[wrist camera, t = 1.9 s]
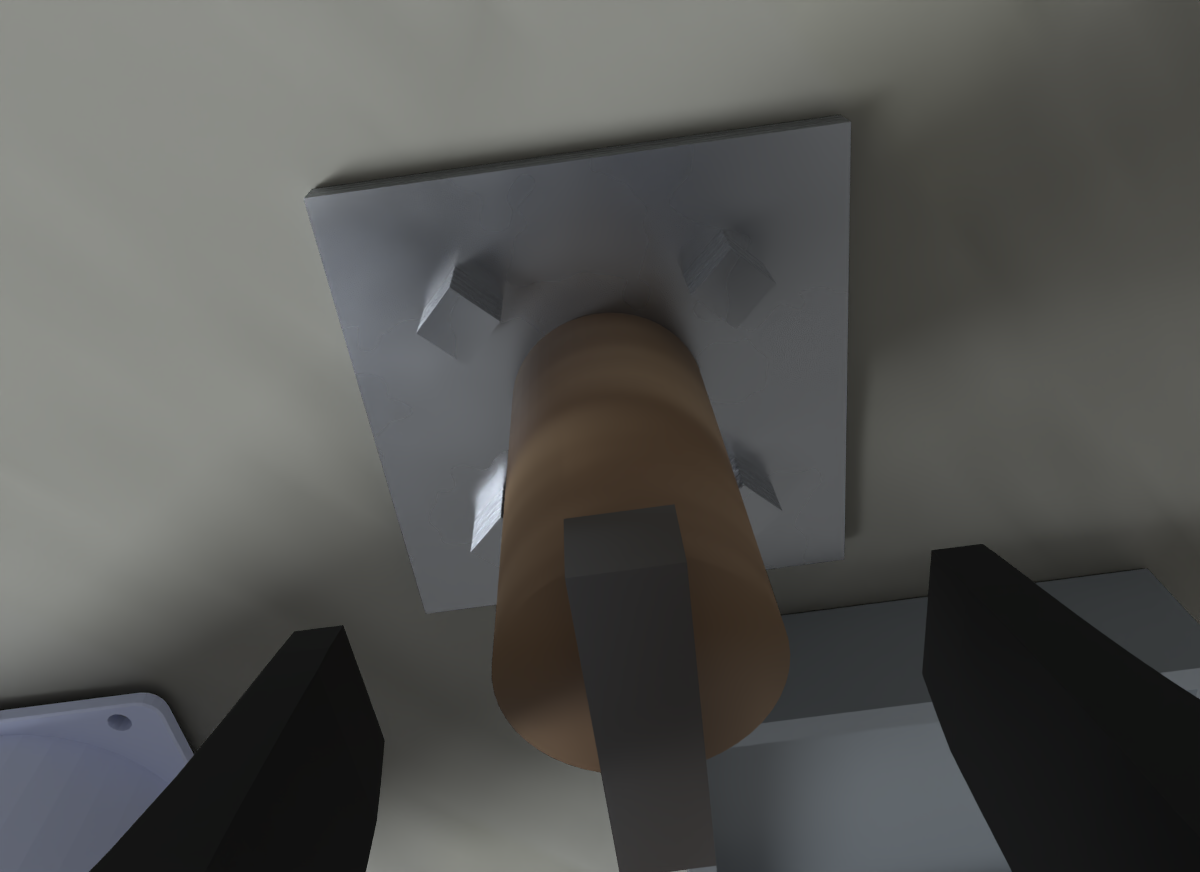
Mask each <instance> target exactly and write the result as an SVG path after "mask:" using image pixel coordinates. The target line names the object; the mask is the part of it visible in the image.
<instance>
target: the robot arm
mask: <svg viewBox="0 0 1200 872" xmlns="http://www.w3.org/2000/svg"><path fill="white" fill-rule="evenodd" d="M922 675H923V678H924V681H925V683H926V686H927V689H928V692H929V695H930V697H931V700H932V703H933V706H934V709H935V712H936V714H937V717H938V720H939V722H940V725H941V728H942V730H943V733H944V735H945V738H946V741H947V743H948V746H949V749H950V751H951V753H952V755H953V757H954V759H955V761H956V763H957V765H958V767H959V769H960V771H961V773H962V775H963V777H964V779H965V781H966V783H967V785H968V787H969V789H970V791H971V793H972V795H973V797H974V799H975V801H976V803H977V805H978V807H979V809H980V811H981V813H982V815H983V817H984V818H985V820H986V822H987V824H988V826H989V828H990V830H991V832H992V834H993V836H994V838H995V840H996V842H997V844H998V846H999V848H1000V849H1001V851H1002V853H1003V855H1004V857H1005V859H1006V861H1007V863H1008V865H1009V867H1010V869H1011V871H1012V872H1200V699H1199V698H1197V697H1196V696H1194V695H1193V694H1191V693H1189V692H1188V691H1186V690H1185V689H1183V688H1182V687H1180V686H1179V685H1177V684H1175V683H1174V682H1172V681H1171V680H1170V679H1168V678H1167V677H1165V676H1164V675H1162V674H1161V673H1159V672H1158V671H1156V670H1155V669H1153V668H1152V667H1150V666H1149V665H1147V664H1146V663H1144V662H1143V661H1141V660H1140V659H1139V658H1137V657H1136V656H1134V655H1133V654H1131V653H1130V652H1128V651H1127V650H1126V649H1124V648H1123V647H1121V646H1120V645H1119V644H1117V643H1116V642H1114V641H1113V640H1112V639H1110V638H1109V637H1107V636H1106V635H1105V634H1103V633H1102V632H1100V631H1099V630H1098V629H1096V628H1095V627H1093V626H1092V625H1091V624H1089V623H1088V622H1087V621H1085V620H1084V619H1082V618H1081V617H1080V616H1078V615H1077V614H1076V613H1074V612H1073V611H1072V610H1070V609H1069V608H1068V607H1066V606H1065V605H1064V604H1062V603H1061V602H1060V601H1058V600H1057V599H1056V598H1054V597H1053V596H1051V595H1050V594H1049V593H1047V592H1046V591H1045V590H1043V589H1042V588H1041V587H1039V586H1038V585H1037V584H1036V583H1034V582H1033V581H1032V580H1030V579H1029V578H1028V577H1026V576H1025V575H1024V574H1022V573H1021V572H1020V571H1018V570H1017V569H1016V568H1014V567H1013V566H1012V565H1010V564H1009V563H1008V562H1006V561H1005V560H1004V559H1002V558H1001V557H1000V556H998V555H997V554H996V553H994V552H993V551H992V550H990V549H989V548H987V547H986V546H985V545H983V544H979V545H971V546H963V547H955V548H947V549H939V550H932V553H931V566H930V578H929V591H928V604H927V617H926V630H925V642H924V655H923V668H922ZM121 715H123V716H121ZM124 716H126V717H124ZM383 752H384V738H383V735H382V732H381V729H380V726H379V724H378V721H377V718H376V715H375V712H374V710H373V707H372V704H371V701H370V699H369V696H368V693H367V690H366V687H365V685H364V682H363V679H362V676H361V674H360V671H359V668H358V665H357V662H356V660H355V657H354V654H353V651H352V649H351V646H350V643H349V640H348V637H347V635H346V632H345V629H344V626H343V625H342V626H334V627H326V628H318V629H311V630H303V631H295V632H294V633H293V634H292V635H291V636H290V638H289V639H288V640H287V641H286V642H285V644H284V645H283V646H282V647H281V648H280V650H279V651H278V652H277V653H276V655H275V656H274V657H273V658H272V660H271V661H270V662H269V663H268V664H267V666H266V667H265V668H264V669H263V671H262V672H261V673H260V674H259V676H258V677H257V678H256V679H255V681H254V682H253V683H252V684H251V686H250V687H249V688H248V689H247V691H246V692H245V693H244V694H243V696H242V697H241V698H240V699H239V701H238V702H237V703H236V704H235V706H234V707H233V708H232V709H231V711H230V712H229V713H228V714H227V716H226V717H225V718H224V719H223V721H222V722H221V723H220V724H219V726H218V727H217V728H216V729H215V730H214V732H213V733H212V734H211V735H210V736H209V738H208V739H207V740H206V741H205V742H204V744H203V745H202V746H201V747H200V748H199V750H198V751H197V752H196V753H195V754H193V752H192V750H191V748H190V746H189V744H188V742H187V740H186V738H185V736H184V735H183V733H182V731H181V729H180V727H179V725H178V723H177V721H176V719H175V717H174V715H173V713H172V711H171V710H170V708H169V706H168V704H167V703H166V702H165V701H164V700H163V699H162V698H160V697H159V696H157V695H155V694H151V693H133V694H125V695H117V696H109V697H101V698H94V699H86V700H78V701H70V702H63V703H55V704H47V705H39V706H32V707H24V708H16V709H8V710H1V711H0V872H366V868H367V863H368V859H369V854H370V850H371V845H372V840H373V836H374V831H375V826H376V821H377V813H378V804H379V795H380V786H381V775H382V763H383Z"/></svg>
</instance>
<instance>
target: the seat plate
mask: <svg viewBox="0 0 1200 872" xmlns="http://www.w3.org/2000/svg"><path fill="white" fill-rule="evenodd" d="M850 155H851V121H849V120H848V119H846V118H845V117H843V116H842V115H835V116H828V117H821V118H814V119H807V120H800V121H793V122H785V123H778V124H771V125H764V126H757V127H750V128H743V129H736V130H728V131H721V132H714V133H707V134H700V135H693V136H686V137H678V138H671V139H664V140H657V141H650V142H643V143H636V144H629V145H621V146H614V147H607V148H600V149H593V150H586V151H579V152H572V153H564V154H557V155H550V156H543V157H536V158H529V159H522V160H514V161H507V162H500V163H493V164H486V165H479V166H472V167H465V168H457V169H450V170H443V171H436V172H429V173H422V174H415V175H407V176H400V177H393V178H386V179H379V180H372V181H365V182H358V183H350V184H343V185H336V186H329V187H322V188H315V189H311V191H310V192H309V193H308V194H307V195H306V196H305V197H304V202H305V205H306V208H307V212H308V215H309V219H310V222H311V225H312V229H313V232H314V236H315V239H316V242H317V246H318V249H319V253H320V256H321V259H322V263H323V266H324V270H325V273H326V276H327V280H328V283H329V287H330V290H331V293H332V297H333V300H334V304H335V307H336V310H337V314H338V317H339V321H340V324H341V327H342V331H343V334H344V338H345V341H346V344H347V348H348V351H349V355H350V358H351V361H352V365H353V368H354V372H355V375H356V378H357V382H358V385H359V389H360V392H361V395H362V399H363V402H364V406H365V409H366V412H367V416H368V419H369V423H370V426H371V429H372V433H373V436H374V440H375V443H376V446H377V450H378V453H379V457H380V460H381V463H382V467H383V470H384V474H385V477H386V480H387V484H388V487H389V491H390V494H391V497H392V501H393V504H394V508H395V511H396V514H397V518H398V521H399V525H400V528H401V531H402V535H403V538H404V542H405V545H406V548H407V552H408V555H409V559H410V562H411V565H412V569H413V572H414V576H415V579H416V582H417V586H418V589H419V593H420V596H421V599H422V603H423V606H424V610H425V613H426V614H428V613H436V612H443V611H451V610H459V609H466V608H474V607H482V606H490V605H497V592H498V579H499V566H500V553H501V540H502V527H503V515H504V502H505V489H506V476H507V463H508V450H509V437H510V424H511V411H512V398H513V389H514V384H515V380H516V377H517V374H518V371H519V369H520V367H521V365H522V363H523V361H524V359H525V357H526V356H527V355H528V353H529V352H530V350H531V349H532V348H533V347H534V346H535V345H536V344H537V343H538V341H539V340H541V339H542V338H543V337H544V336H545V335H547V334H548V333H549V332H551V331H552V330H554V329H555V328H557V327H558V326H560V325H562V324H564V323H567V322H569V321H571V320H574V319H577V318H580V317H583V316H587V315H592V314H599V313H624V314H630V315H636V316H639V317H642V318H645V319H648V320H651V321H653V322H655V323H657V324H659V325H661V326H663V327H664V328H666V329H667V330H669V331H671V332H672V333H673V334H674V335H675V336H677V337H678V338H679V339H680V340H681V341H682V342H683V343H684V345H685V346H686V347H687V348H688V349H689V351H690V352H691V354H692V355H693V357H694V359H695V361H696V363H697V365H698V367H699V370H700V373H701V376H702V379H703V382H704V385H705V388H706V391H707V394H708V397H709V400H710V403H711V406H712V409H713V412H714V415H715V418H716V421H717V424H718V427H719V430H720V433H721V436H722V439H723V442H724V445H725V448H726V451H727V454H728V457H729V460H730V463H731V466H732V469H733V472H734V475H735V478H736V481H737V484H738V487H739V491H740V494H741V497H742V500H743V503H744V506H745V509H746V512H747V515H748V518H749V521H750V524H751V527H752V530H753V533H754V536H755V539H756V542H757V545H758V548H759V551H760V554H761V557H762V560H763V563H764V566H765V569H766V570H767V569H775V568H782V567H790V566H798V565H805V564H813V563H821V562H828V561H836V560H844V547H845V482H846V416H847V351H848V285H849V220H850Z"/></svg>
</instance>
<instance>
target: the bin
mask: <svg viewBox="0 0 1200 872" xmlns="http://www.w3.org/2000/svg"><path fill="white" fill-rule="evenodd" d="M1036 584H1037V585H1038V586H1039V587H1041V588H1042V589H1043V590H1045V591H1046V592H1047V593H1049V594H1050V595H1051V596H1053V597H1054V598H1056V599H1057V600H1058V601H1060V602H1061V603H1062V604H1064V605H1065V606H1066V607H1068V608H1069V609H1070V610H1072V611H1073V612H1074V613H1076V614H1077V615H1078V616H1080V617H1081V618H1082V619H1084V620H1085V621H1087V622H1088V623H1089V624H1091V625H1092V626H1093V627H1095V628H1096V629H1098V630H1099V631H1100V632H1102V633H1103V634H1105V635H1106V636H1107V637H1109V638H1110V639H1112V640H1113V641H1114V642H1116V643H1117V644H1119V645H1120V646H1121V647H1123V648H1124V649H1126V650H1127V651H1128V652H1130V653H1131V654H1133V655H1134V656H1136V657H1137V658H1139V659H1140V660H1141V661H1143V662H1144V663H1146V664H1147V665H1149V666H1150V667H1152V668H1153V669H1155V670H1156V671H1158V672H1159V673H1161V674H1162V675H1164V676H1165V677H1167V678H1168V679H1170V680H1171V681H1172V682H1174V683H1175V684H1177V685H1179V686H1180V687H1182V688H1183V689H1185V690H1186V691H1188V692H1189V693H1191V694H1193V695H1194V696H1196V697H1197V698H1199V699H1200V625H1199V624H1198V623H1197V622H1196V621H1195V620H1194V618H1193V617H1192V616H1191V615H1190V614H1189V613H1188V612H1187V611H1186V610H1185V609H1184V608H1183V606H1182V605H1181V604H1180V603H1179V602H1178V601H1177V600H1176V599H1175V598H1174V597H1173V596H1172V594H1171V593H1170V592H1169V591H1168V590H1167V589H1166V588H1165V587H1164V586H1163V585H1162V584H1161V583H1160V581H1159V580H1158V579H1157V578H1156V577H1155V576H1154V575H1153V574H1152V573H1151V572H1150V571H1149V569H1148V568H1147V569H1139V570H1132V571H1124V572H1116V573H1108V574H1101V575H1093V576H1085V577H1077V578H1069V579H1062V580H1054V581H1046V582H1038V583H1036ZM927 604H928V597H922V598H914V599H906V600H899V601H891V602H883V603H875V604H868V605H860V606H852V607H844V608H836V609H829V610H821V611H813V612H805V613H798V614H790V615H782V616H781V617H782V620H783V623H784V626H785V630H786V633H787V636H788V640H789V647H790V668H789V673H788V677H787V681H786V684H785V687H784V689H783V691H782V694H781V696H780V698H779V700H778V701H777V703H776V705H775V706H774V708H773V710H772V711H771V712H770V713H769V715H768V716H767V717H766V718H765V720H764V721H763V722H762V723H761V724H760V725H759V726H758V727H757V728H756V729H755V730H754V731H753V732H752V733H750V734H749V735H748V736H746V737H745V738H744V739H743V740H741V741H740V742H739V743H737V744H735V745H734V746H732V747H731V748H729V749H727V750H726V751H724V752H722V753H720V754H718V755H716V756H714V757H712V758H709V759H707V760H706V764H707V775H708V785H709V795H710V805H711V816H712V826H713V836H714V847H715V857H716V866H710V867H702V868H694V869H687V871H688V872H1012V871H1011V869H1010V867H1009V865H1008V863H1007V861H1006V859H1005V857H1004V855H1003V853H1002V851H1001V849H1000V848H999V846H998V844H997V842H996V840H995V838H994V836H993V834H992V832H991V830H990V828H989V826H988V824H987V822H986V820H985V818H984V817H983V815H982V813H981V811H980V809H979V807H978V805H977V803H976V801H975V799H974V797H973V795H972V793H971V791H970V789H969V787H968V785H967V783H966V781H965V779H964V777H963V775H962V773H961V771H960V769H959V767H958V765H957V763H956V761H955V759H954V757H953V755H952V753H951V751H950V749H949V746H948V743H947V741H946V738H945V735H944V733H943V730H942V728H941V725H940V722H939V720H938V717H937V714H936V712H935V709H934V706H933V703H932V700H931V697H930V695H929V692H928V689H927V686H926V683H925V681H924V678H923V675H922V668H923V655H924V642H925V630H926V617H927Z"/></svg>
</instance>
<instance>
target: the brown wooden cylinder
mask: <svg viewBox="0 0 1200 872" xmlns="http://www.w3.org/2000/svg"><path fill="white" fill-rule="evenodd" d="M789 668H790V647H789V640H788V636H787V633H786V630H785V626H784V623H783V620H782V617H781V614H780V611H779V608H778V605H777V602H776V599H775V596H774V593H773V590H772V587H771V584H770V581H769V578H768V575H767V572H766V569H765V566H764V563H763V560H762V557H761V554H760V551H759V548H758V545H757V542H756V539H755V536H754V533H753V530H752V527H751V524H750V521H749V518H748V515H747V512H746V509H745V506H744V503H743V500H742V497H741V494H740V491H739V487H738V484H737V481H736V478H735V475H734V472H733V469H732V466H731V463H730V460H729V457H728V454H727V451H726V448H725V445H724V442H723V439H722V436H721V433H720V430H719V427H718V424H717V421H716V418H715V415H714V412H713V409H712V406H711V403H710V400H709V397H708V394H707V391H706V388H705V385H704V382H703V379H702V376H701V373H700V370H699V367H698V365H697V363H696V361H695V359H694V357H693V355H692V354H691V352H690V351H689V349H688V348H687V347H686V346H685V345H684V343H683V342H682V341H681V340H680V339H679V338H678V337H677V336H675V335H674V334H673V333H672V332H671V331H669V330H667V329H666V328H664V327H663V326H661V325H659V324H657V323H655V322H653V321H651V320H648V319H645V318H642V317H639V316H636V315H630V314H624V313H599V314H592V315H587V316H583V317H580V318H577V319H574V320H571V321H569V322H567V323H564V324H562V325H560V326H558V327H557V328H555V329H554V330H552V331H551V332H549V333H548V334H547V335H545V336H544V337H543V338H542V339H541V340H539V341H538V343H537V344H536V345H535V346H534V347H533V348H532V349H531V350H530V352H529V353H528V355H527V356H526V357H525V359H524V361H523V363H522V365H521V367H520V369H519V371H518V374H517V377H516V380H515V384H514V389H513V398H512V411H511V424H510V437H509V450H508V463H507V476H506V489H505V502H504V515H503V527H502V540H501V553H500V566H499V579H498V592H497V605H496V618H495V631H494V644H493V657H492V683H493V689H494V694H495V696H496V699H497V702H498V705H499V707H500V709H501V711H502V712H503V714H504V716H505V718H506V719H507V721H508V722H509V723H510V724H511V726H512V727H513V728H514V730H515V731H516V732H517V733H518V734H520V735H521V736H522V737H523V738H524V739H525V740H526V741H527V742H528V743H530V744H531V745H533V746H534V747H535V748H537V749H538V750H540V751H541V752H543V753H545V754H547V755H549V756H550V757H552V758H554V759H557V760H559V761H562V762H564V763H566V764H569V765H572V766H575V767H579V768H582V769H586V770H591V771H596V772H601V775H602V781H603V786H604V791H605V797H606V802H607V807H608V813H609V818H610V824H611V829H612V834H613V840H614V845H615V850H616V856H617V861H618V867H619V872H670V871H678V870H686V869H694V868H702V867H710V866H716V857H715V847H714V836H713V826H712V816H711V805H710V795H709V785H708V775H707V764H706V760H707V759H709V758H712V757H714V756H716V755H718V754H720V753H722V752H724V751H726V750H727V749H729V748H731V747H732V746H734V745H735V744H737V743H739V742H740V741H741V740H743V739H744V738H745V737H746V736H748V735H749V734H750V733H752V732H753V731H754V730H755V729H756V728H757V727H758V726H759V725H760V724H761V723H762V722H763V721H764V720H765V718H766V717H767V716H768V715H769V713H770V712H771V711H772V710H773V708H774V706H775V705H776V703H777V701H778V700H779V698H780V696H781V694H782V691H783V689H784V687H785V684H786V681H787V677H788V673H789Z"/></svg>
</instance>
